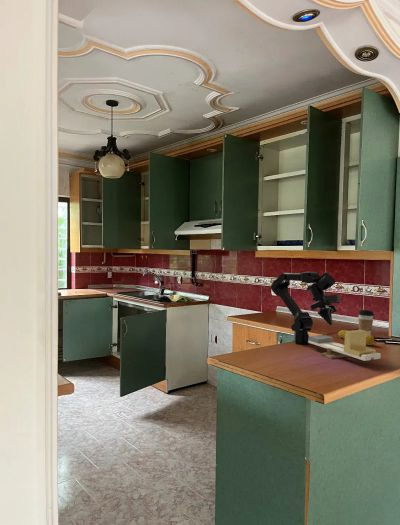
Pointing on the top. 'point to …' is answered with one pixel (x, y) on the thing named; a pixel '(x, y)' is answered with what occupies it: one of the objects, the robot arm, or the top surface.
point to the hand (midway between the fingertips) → (331, 324)
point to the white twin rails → (338, 347)
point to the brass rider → (356, 343)
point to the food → (368, 337)
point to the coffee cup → (365, 320)
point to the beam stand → (333, 354)
